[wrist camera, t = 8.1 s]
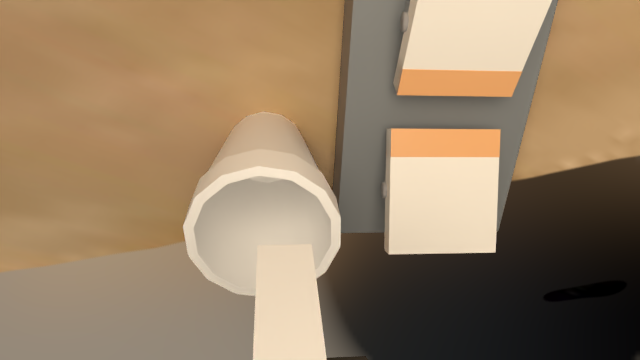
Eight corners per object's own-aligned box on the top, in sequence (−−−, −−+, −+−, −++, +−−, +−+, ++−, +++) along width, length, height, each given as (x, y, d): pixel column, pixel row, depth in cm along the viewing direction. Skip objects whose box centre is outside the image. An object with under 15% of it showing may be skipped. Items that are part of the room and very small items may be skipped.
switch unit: (331, 208, 44) (339, 244, 39) (350, -81, 33) (363, -81, 28) (483, 206, 45) (508, 241, 40) (548, -71, 34) (594, -69, 29)
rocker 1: (388, 77, 34) (394, 95, 32) (415, -58, 27) (423, -44, 26) (504, 79, 35) (514, 96, 33) (556, -51, 28) (571, -38, 27)
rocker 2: (379, 248, 37) (386, 254, 35) (381, 129, 36) (388, 128, 34) (486, 246, 38) (498, 252, 35) (490, 129, 37) (503, 129, 35)
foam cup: (333, 105, 39) (359, 181, 28) (310, 202, 43) (324, 303, 32) (215, 84, 37) (190, 155, 26) (202, 187, 42) (176, 287, 30)
